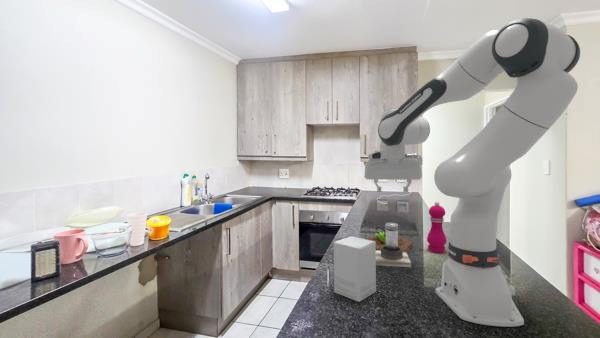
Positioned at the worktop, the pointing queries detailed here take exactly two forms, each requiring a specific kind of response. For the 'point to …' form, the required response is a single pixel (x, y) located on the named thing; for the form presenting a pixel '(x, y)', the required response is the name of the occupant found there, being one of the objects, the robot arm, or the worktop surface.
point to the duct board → (392, 258)
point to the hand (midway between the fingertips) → (392, 191)
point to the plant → (381, 241)
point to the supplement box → (355, 268)
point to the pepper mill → (436, 229)
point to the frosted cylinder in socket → (391, 236)
